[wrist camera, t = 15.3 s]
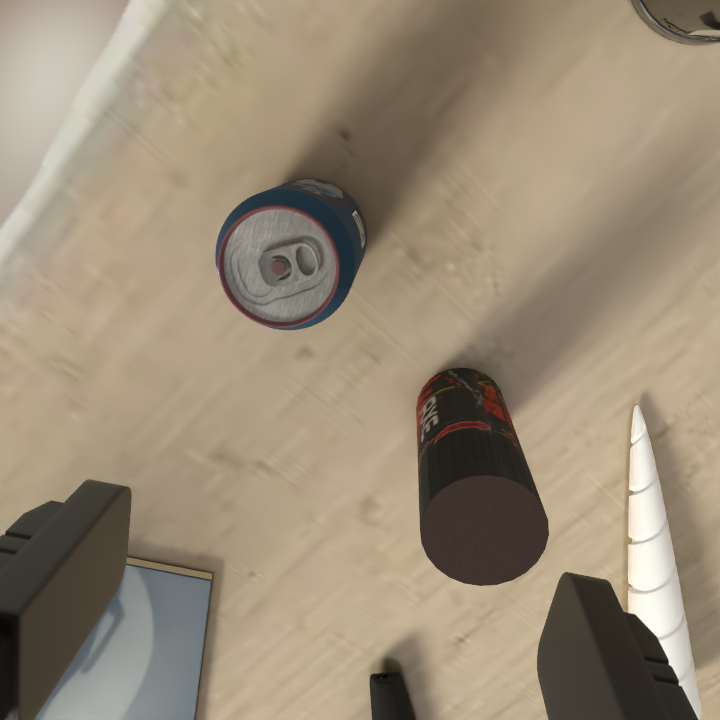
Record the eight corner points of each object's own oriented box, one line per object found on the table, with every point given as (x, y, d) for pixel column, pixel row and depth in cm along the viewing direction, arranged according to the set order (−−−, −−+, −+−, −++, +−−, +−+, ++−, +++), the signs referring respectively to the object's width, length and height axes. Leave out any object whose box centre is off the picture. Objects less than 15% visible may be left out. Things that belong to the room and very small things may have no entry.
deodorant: (488, 458, 46) (523, 599, 32) (405, 435, 46) (404, 566, 32) (517, 381, 45) (568, 495, 30) (431, 357, 44) (442, 460, 30)
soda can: (277, 299, 44) (231, 354, 33) (245, 194, 42) (183, 214, 31) (380, 273, 43) (369, 320, 32) (351, 164, 41) (329, 173, 30)
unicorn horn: (693, 396, 44) (726, 426, 39) (684, 684, 51) (711, 738, 47) (619, 402, 44) (643, 432, 40) (620, 687, 52) (640, 740, 47)
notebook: (22, 534, 51) (13, 543, 50) (215, 571, 51) (211, 581, 50) (19, 741, 58) (11, 753, 57) (190, 774, 58) (185, 787, 56)
